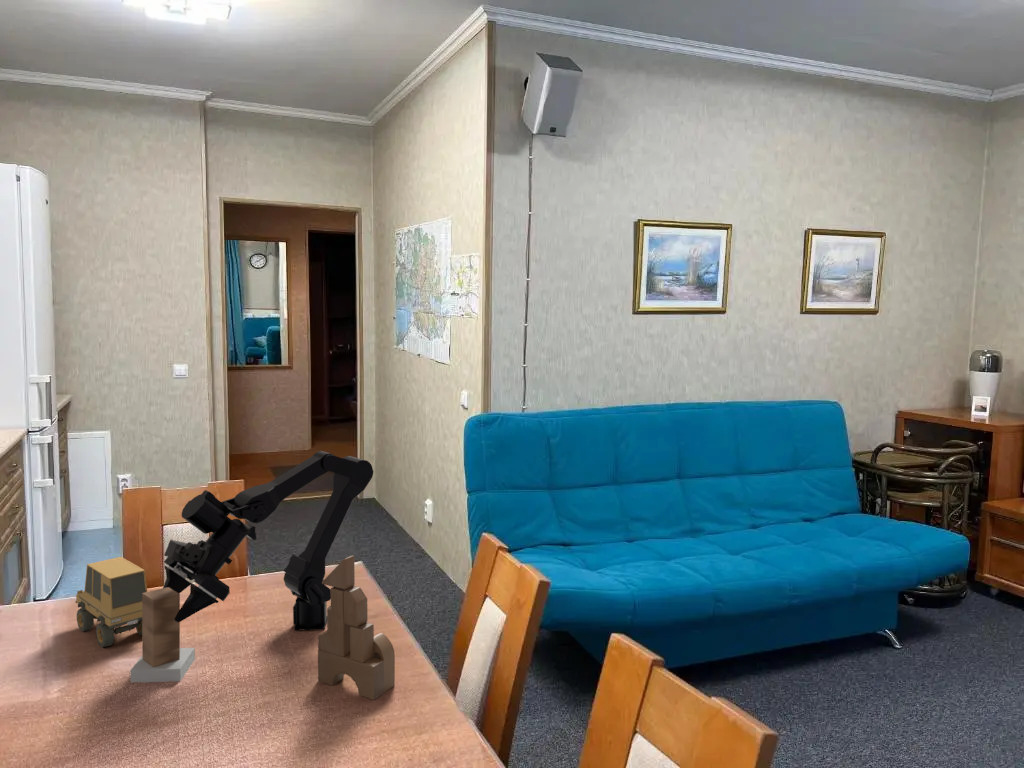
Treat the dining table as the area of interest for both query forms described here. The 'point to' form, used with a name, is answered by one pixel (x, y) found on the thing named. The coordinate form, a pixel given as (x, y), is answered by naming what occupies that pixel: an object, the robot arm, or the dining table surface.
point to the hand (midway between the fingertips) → (166, 613)
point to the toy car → (111, 598)
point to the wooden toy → (353, 639)
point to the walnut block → (160, 626)
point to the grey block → (163, 669)
